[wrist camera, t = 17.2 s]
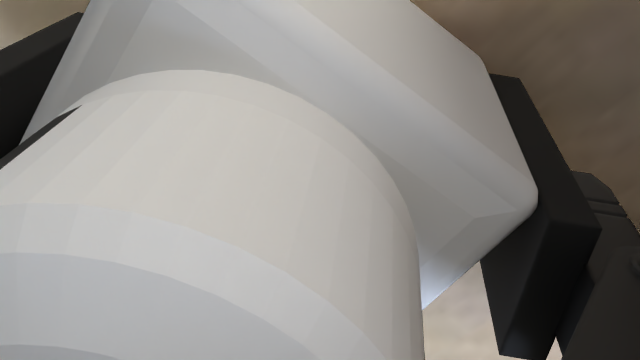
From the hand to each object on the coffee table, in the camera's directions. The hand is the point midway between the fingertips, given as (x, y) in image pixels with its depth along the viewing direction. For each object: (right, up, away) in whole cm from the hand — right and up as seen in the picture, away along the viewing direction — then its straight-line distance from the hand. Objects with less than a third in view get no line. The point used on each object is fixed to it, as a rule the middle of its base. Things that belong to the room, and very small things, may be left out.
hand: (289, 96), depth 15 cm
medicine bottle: (0, +1, +1) cm, 1 cm away
